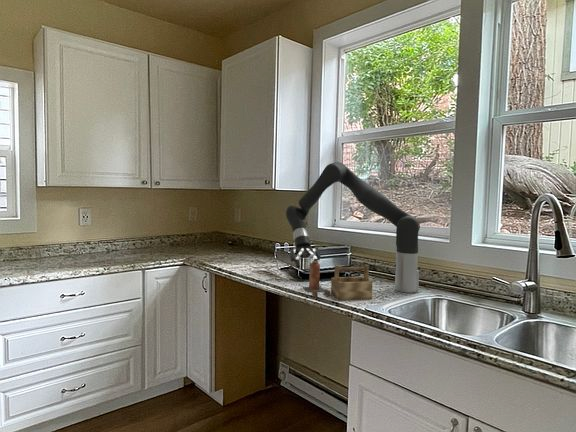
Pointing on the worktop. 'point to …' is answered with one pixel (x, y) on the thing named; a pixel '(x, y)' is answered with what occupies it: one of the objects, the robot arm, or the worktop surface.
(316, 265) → the reddish brown cylinder
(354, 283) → the toolbox
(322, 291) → the pad
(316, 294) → the keeper
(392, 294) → the worktop surface
